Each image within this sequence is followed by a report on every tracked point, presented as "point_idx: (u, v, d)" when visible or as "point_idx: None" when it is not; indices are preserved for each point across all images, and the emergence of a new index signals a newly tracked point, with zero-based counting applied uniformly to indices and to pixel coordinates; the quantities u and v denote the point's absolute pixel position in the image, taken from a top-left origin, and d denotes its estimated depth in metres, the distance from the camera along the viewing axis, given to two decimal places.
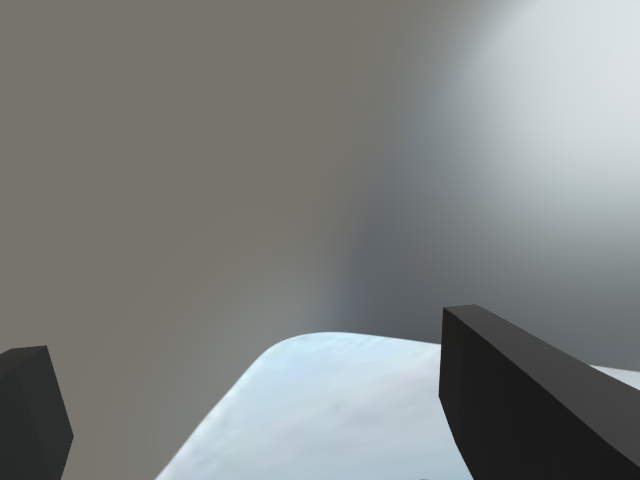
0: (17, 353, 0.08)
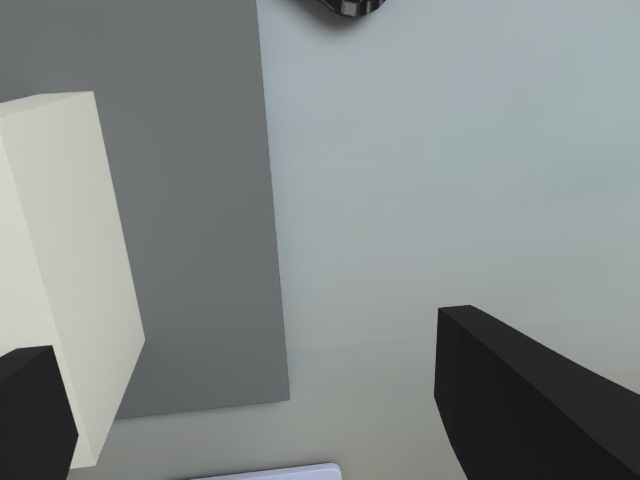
0: (23, 352, 0.08)
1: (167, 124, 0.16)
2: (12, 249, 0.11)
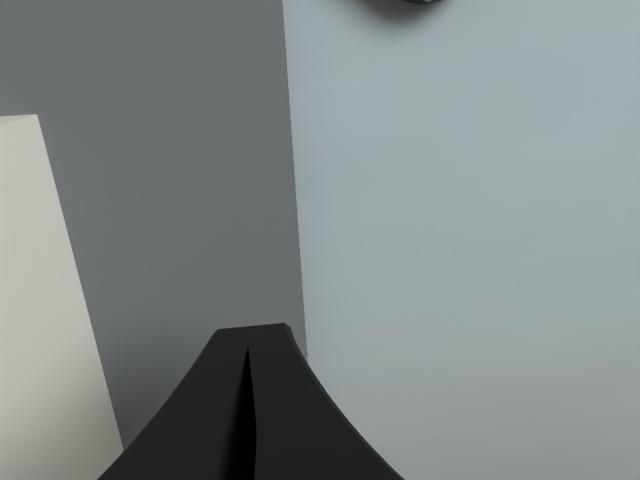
0: (232, 332, 0.08)
1: (149, 161, 0.11)
2: None
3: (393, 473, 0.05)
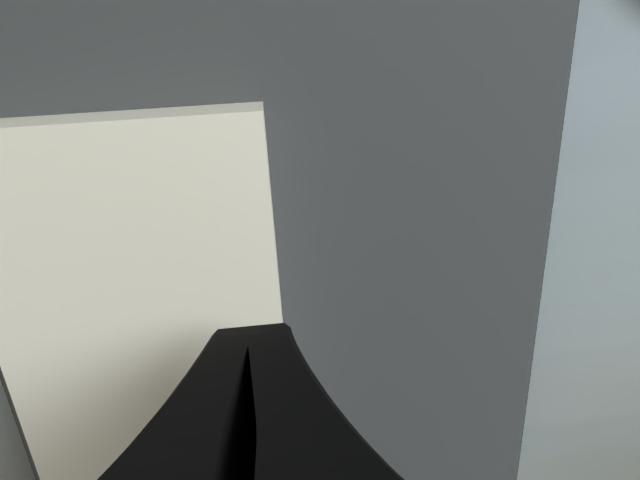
0: (232, 332, 0.08)
1: (431, 142, 0.11)
2: None
3: (393, 472, 0.05)
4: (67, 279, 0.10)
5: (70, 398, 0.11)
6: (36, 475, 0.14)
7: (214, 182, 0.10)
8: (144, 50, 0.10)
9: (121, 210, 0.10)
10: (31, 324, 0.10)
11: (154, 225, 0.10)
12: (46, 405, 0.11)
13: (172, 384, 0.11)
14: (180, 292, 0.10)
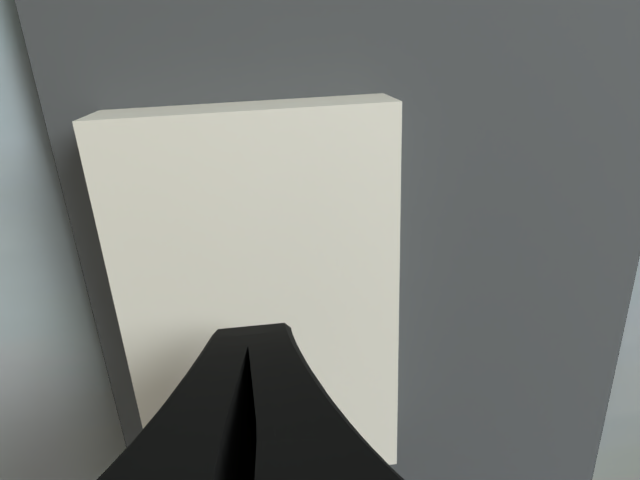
0: (232, 332, 0.08)
1: (540, 134, 0.12)
2: None
3: (393, 473, 0.05)
4: (198, 266, 0.10)
5: None
6: None
7: (348, 171, 0.10)
8: (274, 42, 0.10)
9: (257, 198, 0.10)
10: (159, 311, 0.10)
11: (287, 213, 0.10)
12: (165, 391, 0.11)
13: None
14: (305, 280, 0.10)
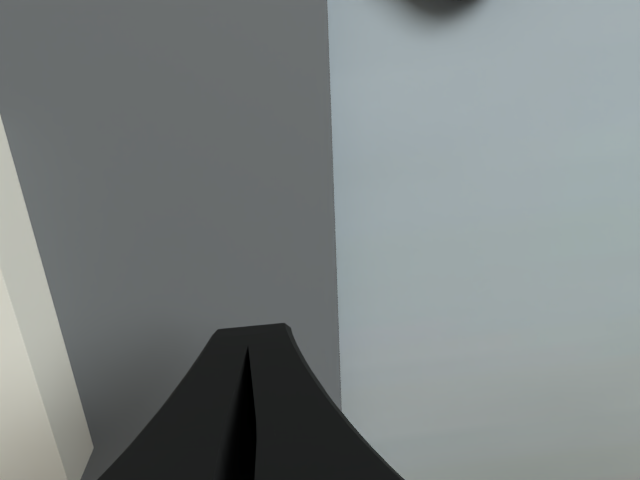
0: (232, 332, 0.08)
1: (191, 154, 0.11)
2: None
3: (393, 473, 0.05)
4: None
5: None
6: None
7: None
8: None
9: None
10: None
11: None
12: None
13: None
14: None
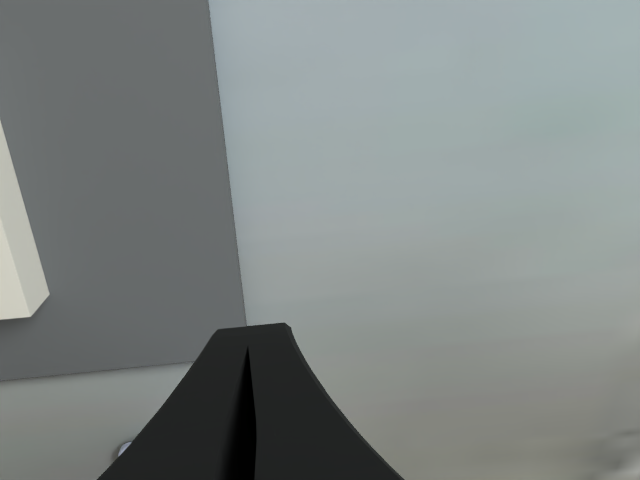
0: (232, 332, 0.08)
1: (110, 59, 0.15)
2: None
3: (393, 473, 0.05)
4: None
5: None
6: None
7: None
8: None
9: None
10: None
11: None
12: None
13: None
14: None
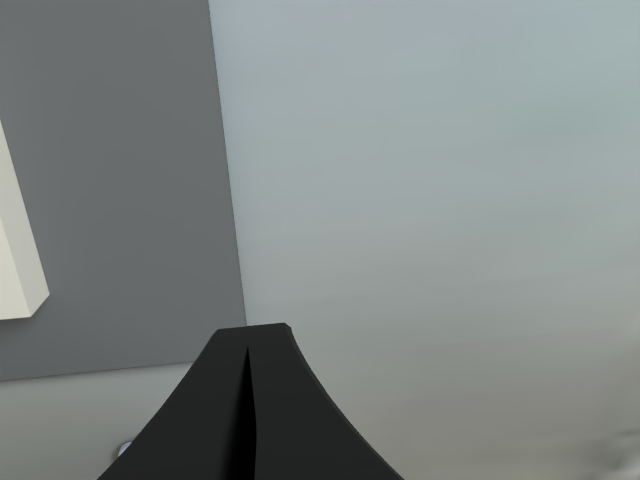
0: (232, 332, 0.08)
1: (110, 59, 0.15)
2: None
3: (393, 473, 0.05)
4: None
5: None
6: None
7: None
8: None
9: None
10: None
11: None
12: None
13: None
14: None
